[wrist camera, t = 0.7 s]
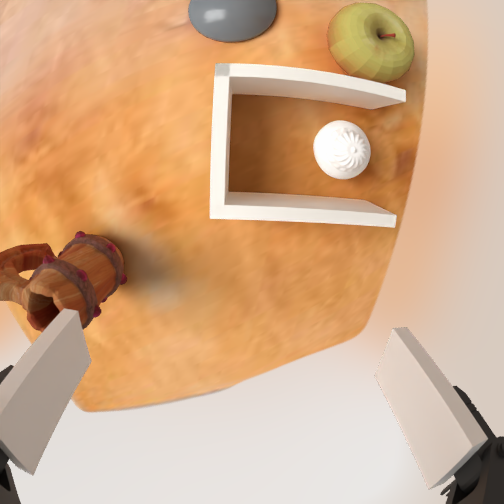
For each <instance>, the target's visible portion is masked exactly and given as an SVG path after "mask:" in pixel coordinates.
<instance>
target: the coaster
mask: <svg viewBox="0 0 504 504" xmlns="http://www.w3.org/2000/svg"><path fill="white" fill-rule="evenodd" d="M276 9H277V7H276V1H275V0H191V1H190V4H189V11H188V12H189V18H190V21H191V23H192V25H193V26H194V28H195V29H196V30H197V31H198V32H199V33H201V34H202V35H204V36H205V37H207V38H210V39H212V40H216V41H220V42H241V41H245V40H249V39H252V38H254V37H256V36H258V35H260V34H262V33H263V32H264V31H265V30H267V29H268V28H269V27H270V25H271V24H272V22H273V20H274V18H275V15H276Z"/></svg>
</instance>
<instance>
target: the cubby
mask: <svg viewBox="0 0 504 504" xmlns="http://www.w3.org/2000/svg"><path fill="white" fill-rule="evenodd" d="M232 94H247V95H266V96H280V97H291V98H301V99H309V100H317V101H324V102H331V103H338V104H344V105H349V106H355V107H360V108H365V109H370V110H372V109H376V108H380V107H385V106H389V105H393V104H398V103H403V102H406V90H404V89H400V88H397V87H393V86H389V85H386V84H382V83H378V82H374V81H370V80H365V79H361V78H356V77H351V76H346V75H341V74H336V73H330V72H324V71H317V70H310V69H302V68H294V67H284V66H273V65H258V64H229V63H216V64H215V79H214V96H213V116H212V140H211V175H210V219H241V220H270V221H294V222H315V223H333V224H350V225H366V226H381V227H394V228H395V224H396V217H397V215H395V214H393V213H391V212H389V211H387V210H385V209H383V208H381V207H379V206H377V205H374V204H372V203H370V202H368V201H366V200H360V199H349V198H337V197H325V196H311V195H295V194H277V193H254V192H228V185H229V155H230V130H231V108H232Z"/></svg>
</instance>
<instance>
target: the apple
mask: <svg viewBox="0 0 504 504" xmlns="http://www.w3.org/2000/svg"><path fill="white" fill-rule="evenodd" d="M327 41H328V46H329V50H330V52H331V54H332V55H333V57H334V59H335V61H336V62H337V64H338V65H339V66H340V67H341V68H342V69H343V70H344V71H345V72H347V73H348V74H349V75H351V76H353V77H356V78H361V79H365V80H370V81H374V82H378V83H386V82H390V81H394V80H397V79H399V78H400V77H401V76H403V75H404V74H405V73H406V72H407V71H408V70H409V68H410V65H411V63H412V60H413V57H414V42H413V39H412V36H411V34H410V31H409V29H408V27H407V26H406V25H405V24H404V22H403V21H402V20H401V18H399V17H398V16H397V15H396V14H394V13H393V12H392V11H390V10H389V9H387V8H384V7H382V6H379V5H377V4H373V3H354V4H351V5H348V6H345V7H343V8H342V9H341V10H340V11H339V12H338V13H337V14H336V15H335V16H334V17H333V19H332V20H331V22H330V23H329V27H328V32H327Z"/></svg>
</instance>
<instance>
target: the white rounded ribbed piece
mask: <svg viewBox="0 0 504 504" xmlns="http://www.w3.org/2000/svg"><path fill="white" fill-rule="evenodd" d="M313 149H314V155H315V159H316V161H317V163H318V165H319V166H320V168H321V169H322V170H323V171H324V172H325V173H326V174H328V175H329V176H331V177H334V178H337V179H350V178H353V177H355V176H357V175H359V174H360V173H361V172H362V171H363V170H364V169H365V168H366V166H367V165H368V162H369V160H370V154H371V150H370V144H369V141H368V139H367V137H366V135H365V133H364V132H363V131H362V130H361V129H360V128H359V127H358V126H357V125H355V124H353V123H351V122H348V121H342V120H338V121H333V122H330V123H328V124H327V125H325V126H324V127H323V128H322V129H321V130H320V131H319V132H318V134H317V135H316V137H315V140H314V145H313Z"/></svg>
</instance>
